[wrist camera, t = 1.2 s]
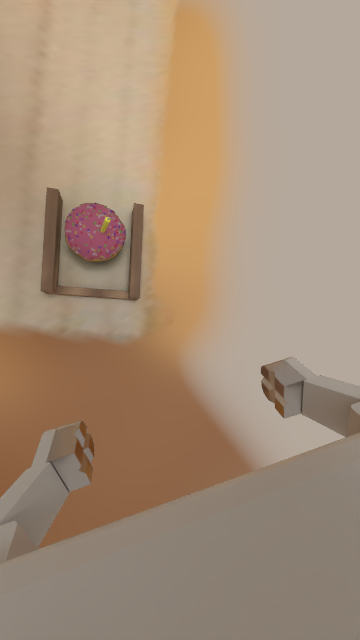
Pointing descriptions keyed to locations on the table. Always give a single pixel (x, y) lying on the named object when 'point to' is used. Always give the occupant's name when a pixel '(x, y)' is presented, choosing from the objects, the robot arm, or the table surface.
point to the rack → (53, 250)
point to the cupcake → (94, 232)
